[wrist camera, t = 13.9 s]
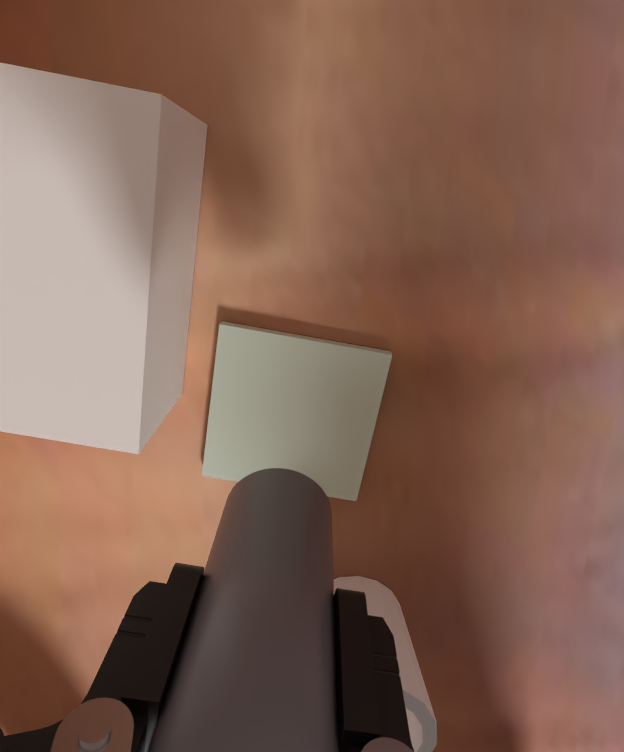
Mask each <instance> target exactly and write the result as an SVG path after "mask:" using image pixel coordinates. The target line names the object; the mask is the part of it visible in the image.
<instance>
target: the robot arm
mask: <svg viewBox="0 0 624 752" xmlns="http://www.w3.org/2000/svg"><path fill="white" fill-rule="evenodd" d="M203 575H204V567H200V566H194V565H187V564H181V563H175V565H174V567H173V569H172V572H171V574H170V577H169V579H168V582H167V584H164V583H158V582H151V581H149V582H148V583H147V584H146V585H145V586H144V587H143V588H142V589H141V590H140V591H139V592H137V593H136V594H135V595H134V596H133V599H132V601H131V603H130V605H129V607H128V609H127V611H126V613H125V617H124V618H123V620H122V622H121V624H120V626H119V628H118V631H117V634H116V635H115V637H114V639H113V641H112V643H111V645H110V647H109V649H108V652H107V654H106V656H105V658H104V660H103V662H102V664H101V666H100V668H99V671H98V673H97V675H96V677H95V679H94V681H93V683H92V685H91V688H90V690H89V692H88V694H87V695H86V697H85V699H84V700H83V702H82V703H81V704H80V705H79V706H77V707H76V708H75V709H73V710H72V711H71V712H70V713H69V714H68V715H67V716H66V717H65V718H64V719H63V720H61V721H59V722H58V723H56V724H54V725H51V726H49V727H46V728H42V729H38V730H34V731H29V732H23V733H18V734H13V735H8V736H4V734H3V732H2V730H1V728H0V752H147V751H148V748H149V744H150V741H151V738H152V735H153V732H154V729H155V727H156V724H157V722H158V719H159V716H160V712H161V709H162V706H163V703H164V700H165V697H166V693H167V690H168V687H169V684H170V681H171V677H172V674H173V671H174V668H175V665H176V661H177V658H178V655H179V652H180V649H181V646H182V642H183V639H184V636H185V633H186V630H187V626H188V623H189V620H190V617H191V614H192V610H193V607H194V604H195V601H196V598H197V595H198V591H199V588H200V585H201V582H202V579H203ZM334 615H335V647H336V680H337V712H338V745H339V752H414V749H413V747H412V743H411V738H410V732H409V726H408V720H407V714H406V708H405V702H404V696H403V690H402V684H401V677H400V676H399V673H400V671H399V665H398V660H397V653H396V647H395V641H394V636H393V634H392V632H391V630H390V629H389V627H388V625H387V624H386V622H385V620H384V618H383V617H377V616H371V615H368V612H367V603H366V595H365V593H364V592H359V591H353V590H346V589H340V588H337V589H336V590H335V593H334Z"/></svg>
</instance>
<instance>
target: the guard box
mask: <svg viewBox="0 0 624 752" xmlns="http://www.w3.org/2000/svg"><path fill="white" fill-rule="evenodd" d="M207 127H208V125H207V124H205V123H204V122H202V121H201V120H199V119H198V118H196V117H195V116H193V115H192V114H190V113H189V112H187V111H186V110H184V109H183V108H181V107H180V106H178V105H177V104H175V103H174V102H173V101H171V100H170V99H168V98H167V97H165V96H164V95H162V94H158V93H153V92H148V91H143V90H138V89H133V88H128V87H123V86H117V85H112V84H107V83H102V82H97V81H92V80H87V79H82V78H77V77H72V76H67V75H61V74H56V73H51V72H46V71H41V70H36V69H31V68H26V67H21V66H16V65H11V64H5V63H0V431H2V432H8V433H14V434H20V435H26V436H32V437H38V438H44V439H50V440H56V441H62V442H68V443H74V444H80V445H86V446H92V447H98V448H104V449H110V450H116V451H122V452H128V453H134V454H139V453H140V451H141V450H142V449H143V447H144V446H145V445H146V443H147V442H148V441H149V439H150V438H151V436H152V435H153V434H154V432H155V431H156V430H157V428H158V427H159V425H160V424H161V423H162V421H163V420H164V419H165V417H166V416H167V415H168V413H169V412H170V410H171V409H172V408H173V406H174V405H175V404H176V402H177V401H178V400H179V398H180V397H181V395H182V392H183V381H184V371H185V360H186V350H187V339H188V329H189V318H190V307H191V297H192V286H193V276H194V265H195V254H196V244H197V233H198V223H199V212H200V201H201V191H202V180H203V170H204V159H205V148H206V138H207Z"/></svg>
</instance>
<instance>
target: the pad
mask: <svg viewBox="0 0 624 752" xmlns="http://www.w3.org/2000/svg"><path fill="white" fill-rule="evenodd" d="M391 359H392V353H391V351H387V350H381V349H375V348H370V347H364V346H359V345H353V344H347V343H342V342H336V341H331V340H325V339H319V338H314V337H308V336H303V335H297V334H291V333H286V332H280V331H275V330H269V329H263V328H258V327H252V326H247V325H241V324H235V323H230V322H224V321H222V322H221V323H220V324H219V331H218V340H217V348H216V357H215V366H214V374H213V383H212V391H211V400H210V409H209V417H208V426H207V434H206V443H205V452H204V460H203V469H202V476H206V477H212V478H218V479H224V480H230V481H236V482H239V481H240V480H241V479H243V478H244V477H246V476H247V475H249V474H251V473H254V472H256V471H259V470H263V469H269V468H283V469H289V470H294V471H297V472H300V473H302V474H304V475H306V476H308V477H309V478H311V479H312V480H314V481H315V482H316V483H317V484H318V485H319V486H320V487H321V488H322V489H323V491H324V492H325V494H326V496H327V497H332V498H339V499H345V500H351V501H357V497H358V493H359V489H360V485H361V481H362V477H363V473H364V469H365V465H366V460H367V456H368V452H369V448H370V444H371V440H372V436H373V432H374V428H375V424H376V420H377V416H378V412H379V408H380V404H381V400H382V395H383V391H384V387H385V383H386V379H387V375H388V371H389V367H390V363H391Z"/></svg>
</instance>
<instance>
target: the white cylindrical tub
mask: <svg viewBox="0 0 624 752" xmlns="http://www.w3.org/2000/svg"><path fill="white" fill-rule="evenodd" d="M337 588H340V589H346V590H353V591H359V592H364V593H365V595H366V603H367V612H368V615H371V616H377V617H383V618H384V620H385V622H386V624H387V625H388V627H389V629H390V630H391V632H392V634H393V636H394V641H395V647H396V653H397V660H398V665H399V671H400V673H399V676H400V677H401V684H402V690H403V696H404V702H405V708H406V714H407V720H408V726H409V732H410V738H411V743H412V747H413V749H414V752H433V750H434V748H435V747H436V745H437V722H436V719H435V716H434V712H433V709H432V706H431V703H430V699H429V696H428V693H427V690H426V687H425V683H424V680H423V677H422V674H421V671H420V667H419V664H418V661H417V658H416V655H415V651H414V648H413V645H412V642H411V638H410V635H409V632H408V629H407V626H406V622H405V619H404V616H403V613H402V610H401V606H400V604H399V602H398V600H397V599H396V597H395V595H394V594H393V592H392V591H391V590H390V589H388V588H387V587H386V586H384V585H383V584H381V583H380V582H378V581H376V580H372V579H369V578H365V577H361V576H350V577H339V578H336V579H334V593H335V590H336V589H337Z"/></svg>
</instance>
